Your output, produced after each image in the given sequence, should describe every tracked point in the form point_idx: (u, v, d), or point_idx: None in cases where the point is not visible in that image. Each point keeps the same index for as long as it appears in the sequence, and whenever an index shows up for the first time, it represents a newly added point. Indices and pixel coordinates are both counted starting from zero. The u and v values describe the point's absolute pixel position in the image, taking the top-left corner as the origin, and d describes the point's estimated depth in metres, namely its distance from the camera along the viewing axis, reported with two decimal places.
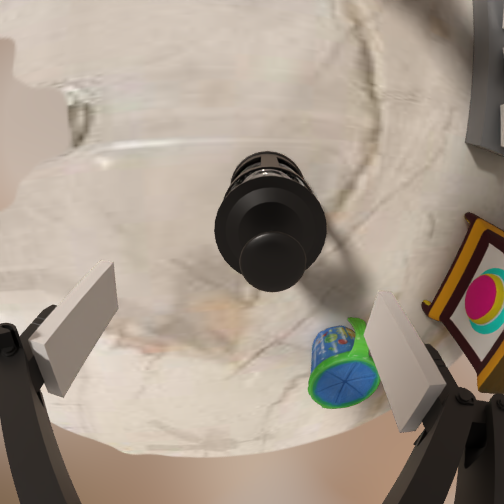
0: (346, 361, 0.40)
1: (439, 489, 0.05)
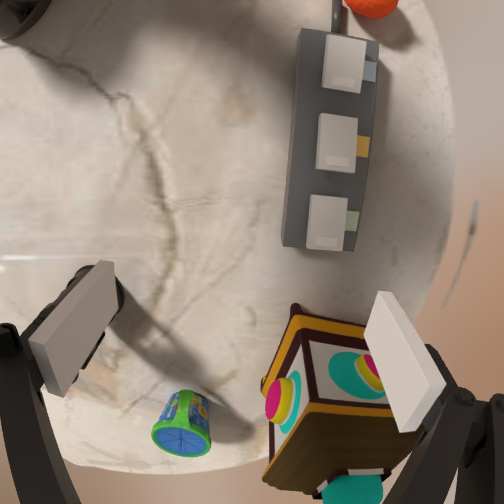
0: (170, 427, 0.46)
1: (439, 489, 0.05)
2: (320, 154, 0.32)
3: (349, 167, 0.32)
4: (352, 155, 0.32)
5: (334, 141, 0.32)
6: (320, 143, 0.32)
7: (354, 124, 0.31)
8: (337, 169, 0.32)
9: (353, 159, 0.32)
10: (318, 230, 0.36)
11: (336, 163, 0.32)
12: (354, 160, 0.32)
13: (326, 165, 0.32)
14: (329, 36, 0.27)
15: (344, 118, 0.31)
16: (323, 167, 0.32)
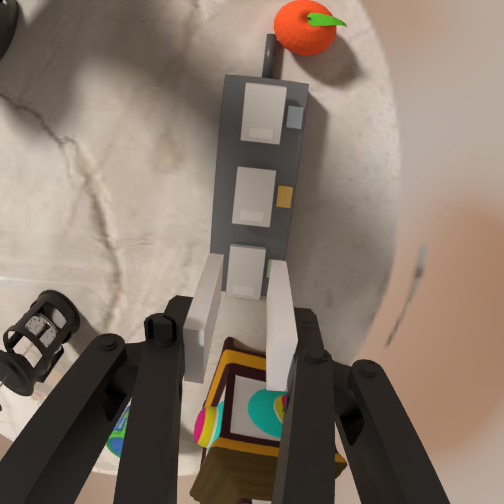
0: (120, 437, 0.48)
1: (323, 456, 0.07)
2: (234, 209, 0.34)
3: (264, 222, 0.34)
4: (267, 209, 0.34)
5: (249, 196, 0.34)
6: (235, 198, 0.34)
7: (272, 177, 0.33)
8: (251, 224, 0.34)
9: (268, 213, 0.34)
10: (235, 279, 0.38)
11: (250, 218, 0.34)
12: (269, 214, 0.34)
13: (240, 220, 0.34)
14: (246, 86, 0.29)
15: (261, 171, 0.33)
16: (237, 222, 0.34)
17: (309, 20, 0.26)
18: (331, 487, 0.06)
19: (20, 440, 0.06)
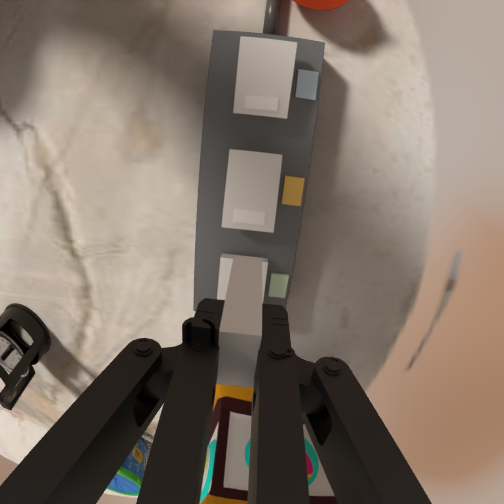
0: None
1: (293, 454, 0.07)
2: (225, 207, 0.25)
3: (265, 225, 0.25)
4: (271, 208, 0.25)
5: (245, 189, 0.24)
6: (225, 192, 0.24)
7: (277, 164, 0.24)
8: (248, 228, 0.25)
9: (272, 214, 0.25)
10: None
11: (246, 220, 0.25)
12: (273, 215, 0.25)
13: (233, 223, 0.25)
14: (241, 39, 0.19)
15: (262, 156, 0.24)
16: (229, 226, 0.25)
17: None
18: (304, 484, 0.06)
19: (44, 442, 0.06)
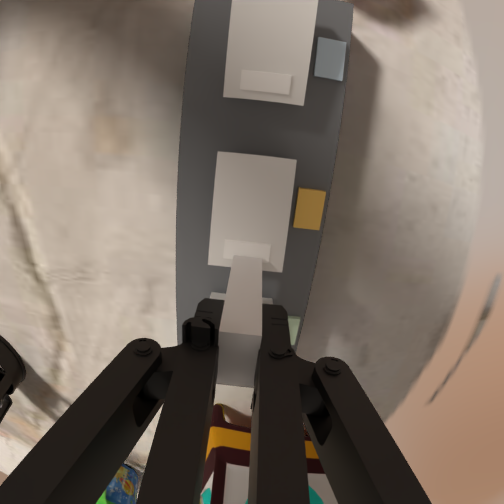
0: None
1: (293, 454, 0.07)
2: (212, 238, 0.17)
3: (271, 262, 0.17)
4: (279, 238, 0.17)
5: (241, 211, 0.17)
6: (213, 215, 0.17)
7: (288, 173, 0.16)
8: None
9: (280, 246, 0.17)
10: None
11: (244, 255, 0.17)
12: (282, 248, 0.17)
13: (224, 259, 0.17)
14: None
15: (267, 161, 0.16)
16: (219, 263, 0.17)
17: None
18: (305, 484, 0.06)
19: (44, 442, 0.06)
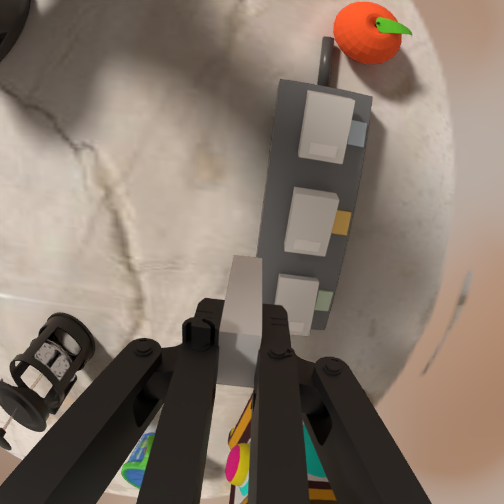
0: (138, 469, 0.43)
1: (293, 454, 0.07)
2: (288, 238, 0.30)
3: (319, 251, 0.31)
4: (325, 239, 0.30)
5: (305, 225, 0.29)
6: (289, 226, 0.30)
7: (334, 207, 0.28)
8: (305, 252, 0.31)
9: (325, 243, 0.30)
10: None
11: (305, 247, 0.31)
12: (326, 244, 0.30)
13: (293, 249, 0.31)
14: (309, 94, 0.25)
15: (322, 200, 0.28)
16: (290, 250, 0.31)
17: (378, 25, 0.22)
18: (304, 484, 0.06)
19: (44, 442, 0.06)
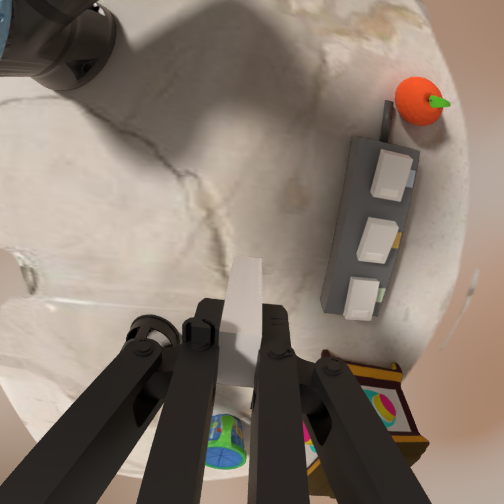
0: (215, 446, 0.55)
1: (293, 454, 0.07)
2: (362, 252, 0.42)
3: (381, 260, 0.42)
4: (386, 253, 0.42)
5: (375, 244, 0.41)
6: (364, 244, 0.41)
7: (394, 232, 0.39)
8: (372, 261, 0.43)
9: (386, 255, 0.42)
10: (355, 306, 0.44)
11: (372, 258, 0.42)
12: (386, 256, 0.42)
13: (364, 259, 0.42)
14: (384, 154, 0.36)
15: (388, 228, 0.39)
16: (362, 260, 0.43)
17: (430, 102, 0.33)
18: (304, 484, 0.06)
19: (44, 442, 0.06)
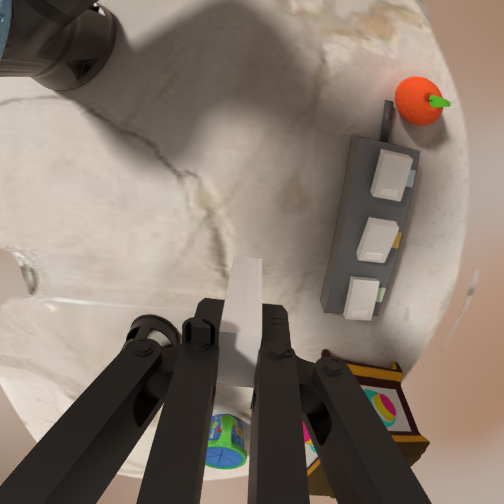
0: (215, 446, 0.55)
1: (293, 454, 0.07)
2: (362, 251, 0.42)
3: (381, 259, 0.42)
4: (386, 252, 0.42)
5: (375, 244, 0.41)
6: (364, 244, 0.41)
7: (395, 232, 0.39)
8: (372, 260, 0.43)
9: (386, 255, 0.42)
10: (355, 305, 0.44)
11: (372, 258, 0.42)
12: (386, 255, 0.42)
13: (364, 258, 0.43)
14: (384, 154, 0.36)
15: (388, 228, 0.39)
16: (362, 259, 0.43)
17: (430, 101, 0.33)
18: (304, 484, 0.06)
19: (44, 442, 0.06)
